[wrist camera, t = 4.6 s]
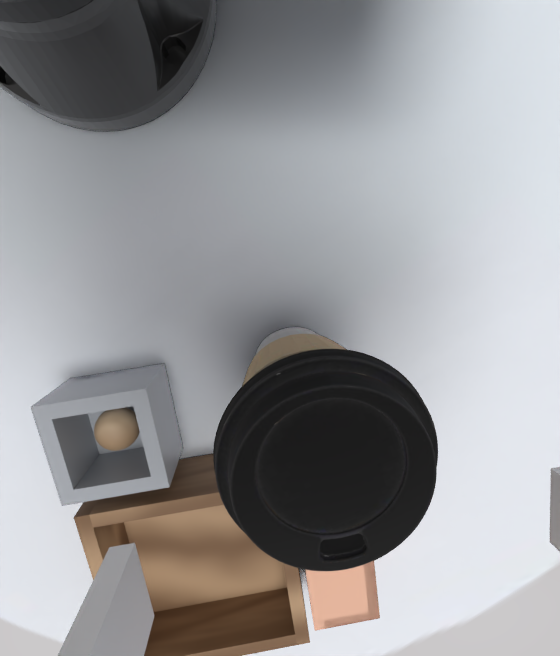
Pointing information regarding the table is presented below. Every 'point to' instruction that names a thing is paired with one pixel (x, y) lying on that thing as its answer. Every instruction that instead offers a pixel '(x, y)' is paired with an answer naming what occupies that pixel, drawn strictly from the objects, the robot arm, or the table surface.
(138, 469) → the grey tub
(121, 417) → the cork ball
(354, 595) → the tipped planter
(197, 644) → the walnut box
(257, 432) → the coffee cup
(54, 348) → the table surface
